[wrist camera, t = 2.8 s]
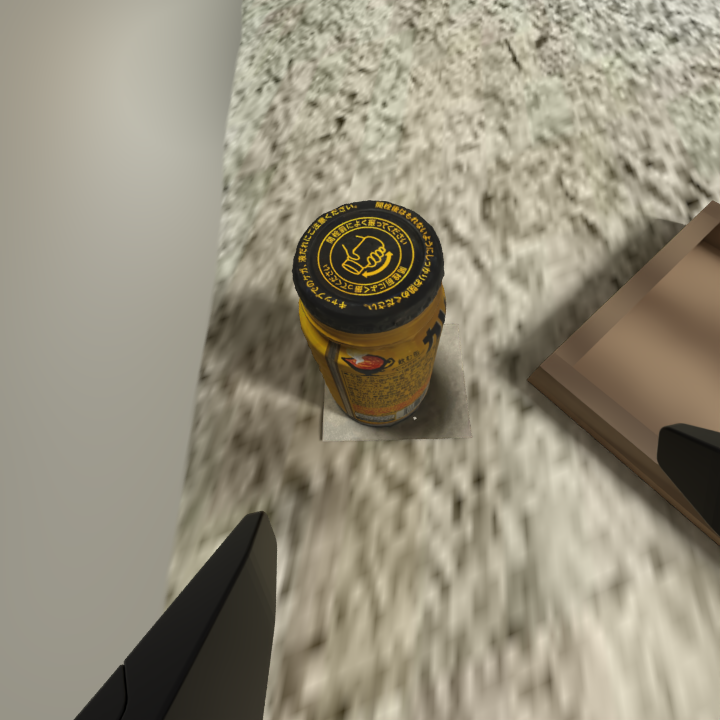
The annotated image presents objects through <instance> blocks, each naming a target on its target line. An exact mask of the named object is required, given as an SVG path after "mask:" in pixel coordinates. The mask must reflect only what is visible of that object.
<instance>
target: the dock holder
mask: <svg viewBox="0 0 720 720" xmlns="http://www.w3.org/2000/svg"><path fill="white" fill-rule="evenodd" d="M527 380H528V381H529V382H530V383H531V384H532V385H533V386H535V387H536V388H537V389H538V390H539V391H540V392H542V393H543V394H544V395H545V396H546V397H547V398H548V399H550V400H551V401H552V402H553V403H554V404H555V405H557V406H558V407H559V408H560V409H561V410H562V411H564V412H565V413H566V414H567V415H568V416H569V417H571V418H572V419H573V420H574V421H575V422H576V423H578V424H579V425H580V426H581V427H582V428H583V429H584V430H586V431H587V432H588V433H589V434H590V435H591V436H593V437H594V438H595V439H596V440H597V441H598V442H600V443H601V444H602V445H603V446H604V447H605V448H607V449H608V450H609V451H610V452H611V453H612V454H613V455H615V456H616V457H617V458H618V459H619V460H620V461H622V462H623V463H624V464H625V465H626V466H627V467H629V468H630V469H631V470H632V471H633V472H634V473H636V474H637V475H638V476H639V477H640V478H641V479H643V480H644V481H645V482H646V483H647V484H648V485H649V486H651V487H652V488H653V489H654V490H655V491H656V492H658V493H659V494H660V495H661V496H662V497H663V498H665V499H666V500H667V501H668V502H669V503H670V504H672V505H673V506H674V507H675V508H676V509H677V510H678V511H680V512H681V513H682V514H683V515H684V516H685V517H687V518H688V519H689V520H690V521H691V522H692V523H694V524H695V525H696V526H697V527H698V528H699V529H701V530H702V531H703V532H704V533H705V534H706V535H708V536H709V537H710V538H711V539H712V540H713V541H714V542H716V543H717V544H718V545H719V546H720V537H719V536H718V535H717V534H716V533H715V532H714V530H713V529H712V528H711V527H710V526H709V525H708V524H707V523H706V522H705V520H704V519H703V518H702V517H701V516H700V515H699V513H698V512H697V511H696V510H695V509H694V507H693V506H692V505H691V504H690V503H689V501H688V500H687V499H686V498H685V497H684V495H683V494H682V493H681V492H680V491H679V489H678V488H677V487H676V486H675V485H674V483H673V482H672V481H671V480H670V479H669V478H668V476H667V475H666V474H665V473H664V472H663V470H662V469H661V468H660V466H659V464H658V462H657V458H656V455H657V445H658V436H659V431H660V429H661V428H662V427H664V426H667V425H672V424H677V423H685V424H689V425H693V426H697V427H701V428H705V429H709V430H713V431H717V432H720V204H718V203H717V202H715V201H711V202H710V203H709V204H708V205H707V206H706V207H705V208H704V209H703V210H702V211H701V212H700V213H699V214H698V215H697V216H696V217H695V218H694V219H693V220H692V221H691V222H689V223H688V224H687V225H686V226H685V227H684V228H683V229H682V230H681V231H680V232H679V233H678V234H677V235H676V236H675V237H674V238H673V239H672V240H671V241H670V242H669V243H667V244H666V245H665V246H664V247H663V248H662V249H661V250H660V251H659V252H658V253H657V254H656V255H655V256H654V257H653V258H652V259H651V260H650V261H649V262H648V263H647V264H645V265H644V266H643V267H642V268H641V269H640V270H639V271H638V272H637V273H636V274H635V275H634V276H633V277H632V278H631V279H630V280H629V281H628V282H627V283H626V284H625V285H623V286H622V287H621V288H620V289H619V290H618V291H617V292H616V293H615V294H614V295H613V296H612V297H611V298H610V299H609V300H608V301H607V302H606V303H605V304H604V305H603V306H601V307H600V308H599V309H598V310H597V311H596V312H595V313H594V314H593V315H592V316H591V317H590V318H589V319H588V320H587V321H586V322H585V323H584V324H583V325H582V326H581V327H579V328H578V329H577V330H576V331H575V332H574V333H573V334H572V335H571V336H570V337H569V338H568V339H567V340H566V341H565V342H564V343H563V344H562V345H561V346H560V347H559V348H557V349H556V350H555V351H554V352H553V353H552V354H551V355H550V356H549V357H548V358H547V359H546V360H545V361H544V362H543V363H542V364H541V365H540V366H539V367H538V368H537V369H536V370H535V371H534V372H533V374H532V375H531V376H530V377H529V378H528V379H527Z"/></svg>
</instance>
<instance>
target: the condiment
mask: <svg viewBox="0 0 720 720" xmlns="http://www.w3.org/2000/svg"><path fill="white" fill-rule="evenodd" d="M292 273H293V282H294V284H295V289H296V291H297V293H298V296H299V297H300V299H299V316H300V324H301V328H302V331H303V334H304V336H305V338H306V340H307V342H308V346H309V347H310V349H311V351H312V354H313V356H314V359H315V360H316V361H317V363H318V365H319V369H320V371H321V373H322V375H323V378H324V379H325V390H324V415H323V441H360V440H363V441H371V440H403V439H443V438H472V433H471V425H470V420H469V412H468V404H467V395H466V389H465V379H464V372H463V363H462V353H461V346H460V336H459V328H458V324H444V322H445V315H446V297H445V292H444V288H443V285H442V279H443V277H444V259H443V252H442V247H441V244H440V240H439V238H438V236H437V235H436V232H435V231H434V229H433V227H432V226H431V225H430V224H428V223H427V222H426V221H425V220H424V219H423V218H422V217H421V216H420V215H419V214H417V213H415V212H414V211H412V210H410V209H406V208H405V207H402V206H399V205H396V204H392V203H390V202H387V201H371V200H368V201H361V202H353V203H350V204H344V205H342V206H340V207H338V208H336V209H334V210H332V211H329V212H327V213H324V214H322V215H321V216H319V217H318V218H317V219H316V220H315V221H314V222H313V223H312V224H311V225H310V226H309V227H308V229H307V230H306V231H305V233H304V234H303V236H302V237H301V239H300V241H299V243H298V245H297V249H296V253H295V256H294V259H293V269H292ZM413 417H416V418H417V419H415V420H414V419H413Z"/></svg>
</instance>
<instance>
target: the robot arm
mask: <svg viewBox="0 0 720 720" xmlns="http://www.w3.org/2000/svg"><path fill="white" fill-rule="evenodd" d="M656 458H657V462H658V464H659V466H660V468H661V469H662V470H663V472H664V473H665V474H666V475H667V476H668V478H669V479H670V480H671V481H672V482H673V483H674V485H675V486H676V487H677V488H678V489H679V491H680V492H681V493H682V494H683V495H684V497H685V498H686V499H687V500H688V501H689V503H690V504H691V505H692V506H693V507H694V509H695V510H696V511H697V512H698V513H699V515H700V516H701V517H702V518H703V519H704V520H705V522H706V523H707V524H708V525H709V526H710V527H711V528H712V529H713V530H714V532H715V533H716V534H717V535H718V536H719V537H720V432H717V431H713V430H709V429H705V428H701V427H697V426H693V425H689V424H685V423H677V424H672V425H667V426H664V427H662V428H661V429H660V431H659V436H658V445H657V455H656ZM276 575H277V542H276V538H275V535H274V532H273V529H272V527H271V524H270V521H269V518H268V516H267V514H266V513H265V512H264V511H260V512H255V513H250V514H247V515H246V516H245V517H244V518H243V519H242V520H241V521H240V523H239V524H238V525H237V526H236V527H235V529H234V530H233V531H232V532H231V533H230V535H229V536H228V537H227V538H226V539H225V541H224V542H223V543H222V544H221V545H220V546H219V548H218V549H217V550H216V551H215V552H214V554H213V555H212V556H211V557H210V558H209V560H208V561H207V562H206V563H205V564H204V566H203V567H202V568H201V569H200V570H199V572H198V573H197V574H196V575H195V576H194V578H193V579H192V580H191V581H190V582H189V584H188V585H187V586H186V587H185V588H184V590H183V591H182V592H181V593H180V594H179V596H178V597H177V598H176V599H175V600H174V602H173V603H172V604H171V605H170V606H169V608H168V609H167V610H166V611H165V612H164V613H163V615H162V616H161V617H160V618H159V619H158V621H157V622H156V623H155V624H154V626H153V627H152V628H151V629H150V630H149V631H148V633H147V634H146V635H145V636H144V637H143V639H142V640H141V641H140V642H139V644H138V645H137V646H136V647H135V648H134V649H133V651H132V652H131V653H130V654H129V656H128V657H127V658H126V659H125V661H124V665H120V666H119V667H118V668H117V670H116V671H115V672H114V673H113V674H112V675H111V677H110V678H109V679H108V680H107V681H106V683H105V684H104V685H103V686H102V687H101V689H100V690H99V691H98V692H97V693H96V694H95V696H94V697H93V698H92V699H91V700H90V701H89V702H88V704H87V705H86V706H85V707H84V708H83V710H82V711H81V712H80V713H79V714H78V715H77V716H76V718H75V719H74V720H263V713H264V706H265V698H266V690H267V682H268V675H269V667H270V659H271V651H272V643H273V636H274V627H275V613H276Z"/></svg>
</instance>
